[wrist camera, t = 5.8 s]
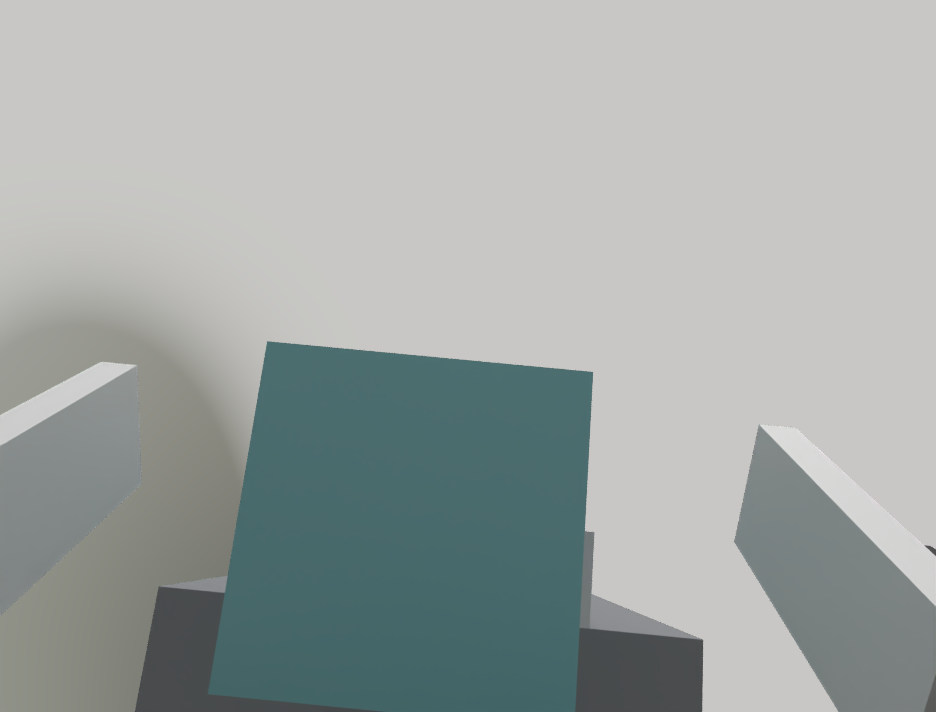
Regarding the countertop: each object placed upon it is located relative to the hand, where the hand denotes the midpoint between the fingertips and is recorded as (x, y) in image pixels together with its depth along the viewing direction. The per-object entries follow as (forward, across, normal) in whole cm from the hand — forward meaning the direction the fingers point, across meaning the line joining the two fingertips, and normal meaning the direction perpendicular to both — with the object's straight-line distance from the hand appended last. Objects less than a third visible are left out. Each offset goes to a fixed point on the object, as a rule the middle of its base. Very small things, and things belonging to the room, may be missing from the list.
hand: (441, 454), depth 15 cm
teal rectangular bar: (+4, 0, -6) cm, 7 cm away
